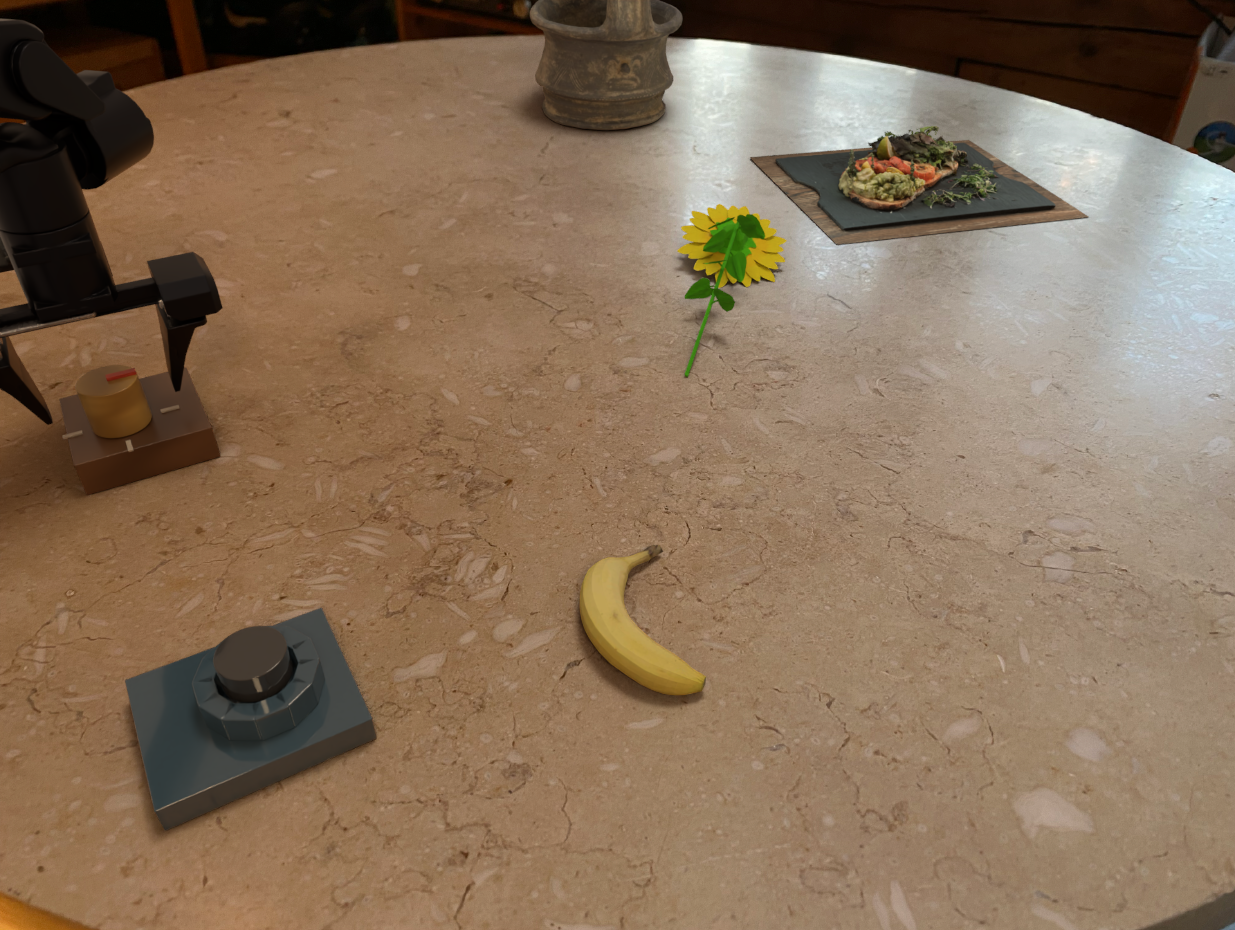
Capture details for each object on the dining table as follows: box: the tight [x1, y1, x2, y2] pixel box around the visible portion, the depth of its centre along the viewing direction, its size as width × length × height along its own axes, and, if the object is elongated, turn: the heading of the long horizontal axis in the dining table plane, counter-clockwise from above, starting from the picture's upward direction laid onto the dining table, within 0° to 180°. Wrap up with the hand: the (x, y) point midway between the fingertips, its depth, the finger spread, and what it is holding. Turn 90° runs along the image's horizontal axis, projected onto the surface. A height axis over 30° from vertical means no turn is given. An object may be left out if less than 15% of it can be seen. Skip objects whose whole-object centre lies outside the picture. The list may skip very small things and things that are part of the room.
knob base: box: [124, 607, 378, 831], centre depth 56 cm, size 12×10×4 cm
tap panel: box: [58, 366, 221, 496], centre depth 76 cm, size 10×10×3 cm
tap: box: [74, 364, 152, 438], centre depth 73 cm, size 4×4×4 cm
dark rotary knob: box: [213, 625, 293, 703], centre depth 54 cm, size 4×4×2 cm
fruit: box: [579, 544, 707, 696], centre depth 62 cm, size 7×13×3 cm, turn 14°
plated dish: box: [749, 125, 1089, 245], centre depth 121 cm, size 35×28×7 cm
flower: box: [676, 203, 788, 378], centre depth 96 cm, size 12×9×30 cm
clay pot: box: [529, 0, 683, 131], centre depth 134 cm, size 22×23×30 cm
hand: (115, 404), depth 73 cm, fingers open, 9 cm apart
